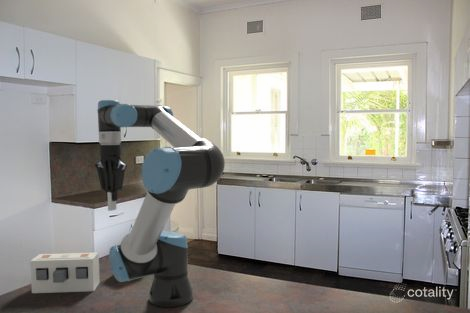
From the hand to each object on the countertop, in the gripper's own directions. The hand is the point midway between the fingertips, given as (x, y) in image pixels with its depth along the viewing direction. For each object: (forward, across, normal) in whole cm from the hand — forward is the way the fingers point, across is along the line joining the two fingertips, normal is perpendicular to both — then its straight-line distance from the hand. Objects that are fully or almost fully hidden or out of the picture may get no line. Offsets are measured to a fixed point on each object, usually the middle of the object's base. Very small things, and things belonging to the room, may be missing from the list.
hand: (112, 209), depth 144 cm
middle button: (+25, -16, -10) cm, 31 cm away
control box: (+30, -19, -4) cm, 36 cm away
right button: (+25, -12, -4) cm, 28 cm away
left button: (+25, -24, -10) cm, 36 cm away
